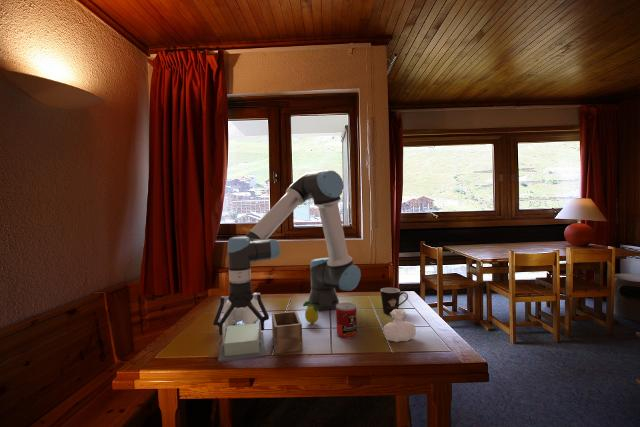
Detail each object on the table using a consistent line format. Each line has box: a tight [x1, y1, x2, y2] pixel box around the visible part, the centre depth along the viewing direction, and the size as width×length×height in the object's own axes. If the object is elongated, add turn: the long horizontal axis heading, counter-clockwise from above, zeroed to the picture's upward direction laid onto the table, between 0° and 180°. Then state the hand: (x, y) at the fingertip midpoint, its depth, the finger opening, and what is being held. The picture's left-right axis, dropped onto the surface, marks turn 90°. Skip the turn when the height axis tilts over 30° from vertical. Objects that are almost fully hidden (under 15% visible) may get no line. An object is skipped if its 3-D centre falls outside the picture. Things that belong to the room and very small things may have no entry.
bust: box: [382, 308, 417, 343], centre depth 121 cm, size 12×8×11 cm
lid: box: [224, 322, 259, 356], centre depth 118 cm, size 11×16×4 cm
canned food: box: [335, 302, 358, 339], centre depth 125 cm, size 8×8×11 cm
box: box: [271, 310, 304, 354], centre depth 119 cm, size 9×14×9 cm, turn 12°
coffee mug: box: [380, 287, 409, 316], centre depth 148 cm, size 12×9×10 cm
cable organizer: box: [222, 292, 261, 328], centre depth 140 cm, size 15×11×12 cm
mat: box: [217, 331, 266, 363], centre depth 118 cm, size 15×20×1 cm
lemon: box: [302, 300, 319, 325], centre depth 137 cm, size 7×6×10 cm
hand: (242, 341), depth 118 cm, fingers open, 12 cm apart
